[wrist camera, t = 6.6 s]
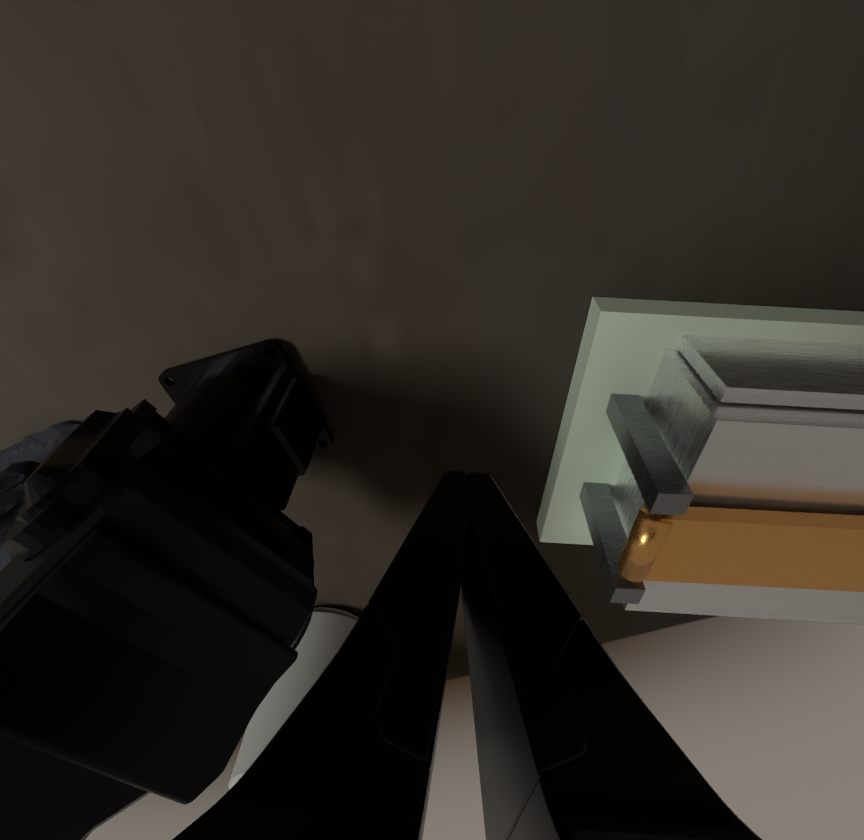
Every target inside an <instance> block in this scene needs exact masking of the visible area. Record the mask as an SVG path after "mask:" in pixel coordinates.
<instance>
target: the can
mask: <svg viewBox="0 0 864 840" xmlns="http://www.w3.org/2000/svg"><path fill="white" fill-rule="evenodd" d="M357 620H358V617H357V616H355V615H353V614H351V613H349V612H346V611H343V610H339V609H335V608H326V607H317V608H314V610H313V613H312V617H311V621H310V623H309V625H308V628H307V630H306V632H305V634H304V636H303V638H302V639H301V641H300V643H299V645H298V646H297V648H296V649H295V650H296V651H297V652H298V657H297V659H296V661H295V662H294V663H293V664H292V665H291V666H290V668H289V669H288V670H287V671H286V672H285V673H284V674H283V675H282V676H281V677H280V678H279V680H278V681H277V682H276V683H275V684H274V685H273V687H272V688H271V690H270V691H269V692H268V694H267V695H266V697H265V698H264V700H263V701H262V702H261V704H260V705H259V707H258V708H257V710H256V711H255V713H254V715H253V717H252V718H251V720H250V722H249V724H248V725H247V729H246V732H245V735H244V738H243V741H242V744H241V747H240V751H239V754H238V757H237V760H236V764H235V767H234V770H233V773H232V776H231V779H230V782H229V786H228V787H229V789H231V788H232V787H233V786H234V785H235V784H236V783H237V781H238V780H239V779H240V778H241V777H242V776H243V775H244V773H245V772H246V771H247V770H248V769H249V768H250V766H251V765H252V764H253V763H254V761H255V760H256V759H257V758H258V756H259V755H260V754H261V753H262V751H263V750H264V749H265V747H266V746H267V745H268V743H269V742H270V741H271V740H272V738H273V737H274V736H275V734H276V733H277V732H278V730H279V729H280V728H281V726H282V725H283V724H284V723H285V721H286V720H287V719H288V717H289V716H290V715H291V713H292V712H293V711H294V710H295V708H296V707H297V706H298V704H299V703H300V702H301V700H302V699H303V698H304V697H305V695H306V694H307V693H308V691H309V690H310V689H311V687H312V686H313V685H314V684H315V682H316V681H317V680H318V678H319V677H320V675H321V674H322V673H323V671H324V670H325V668H326V667H327V666H328V664H329V663H330V662H331V660H332V659H333V657H334V656H335V655H336V653H337V652H338V650H339V649H340V647H341V646H342V644H343V643H344V641H345V639H346V638H347V636H348V635H349V633H350V631H351V630H352V628H353V627H354V625H355V624H356V622H357Z"/></svg>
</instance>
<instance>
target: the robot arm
mask: <svg viewBox="0 0 864 840" xmlns="http://www.w3.org/2000/svg"><path fill="white" fill-rule="evenodd" d="M268 348H272V349H274V350H275V351H276V354H273V353H270V352H269V350H268ZM168 377H169V378H172V379H173V380H174V382H173V381H171V380H170V379H169V378H168ZM159 382H160V384H161V385H162V387H163V388H164V389H165V391H166V392H167V393H168V394H169V396H170V397H171V398H172V400H173V401H174V402H175V404H176V405H175V406H174V407H173V409H172V410H171V411H170V412H169V413H168V415H167V416H166V417H165V418H163V417H162V416H160V415H159V414H158V413H157V412H155V411H156V410H157V409H156V408H155V407H154V406H153V405H151V404H150V403H149V402H148V401H146V400H145V399H144V400H142V401H141V402H140V403H139V404H137V405H136V406H135V407H134V408H132V409H131V410H130V409H128V408H126V409H124V410H123V411H121V412H118V413H112V412H105V411H99V410H96V411H95V412H93V413H92V414H91V415H90V416H89V417H87V418H86V419H85V420H84V421H83V422H82V423H81V424H80V425H79V426H78V427H77V428H76V429H75V430H74V431H73V432H71V433H70V434H69V435H68V436H67V437H66V438H65V439H64V440H63V441H62V442H61V443H60V444H59V445H58V446H57V447H56V448H55V449H54V450H53V451H52V452H51V453H50V454H49V455H48V456H47V457H46V458H45V459H44V461H43V462H42V463H41V464H40V465H39V466H38V467H37V468H36V469H35V471H34V472H33V473H32V474H31V475H30V476H29V477H28V478H27V479H26V480H25V482H24V490H25V505H24V506H23V507H22V508H21V510H20V511H19V513H18V515H17V517H16V520H15V522H14V524H13V525H12V527H11V528H10V530H9V531H8V533H7V535H6V536H5V538H4V539H3V541H2V543H1V544H2V545H4V546H6V547H7V548H9V549H11V550H13V551H15V552H16V553H18V554H17V555H16V556H15V557H14V558H13V559H12V560H11V561H10V562H9V563H8V564H7V565H6V566H5V567H4V568H3V569H2V570H1V571H0V840H85V839H86V838H87V837H88V835H89V834H90V833H91V832H92V831H93V830H94V829H96V828H97V827H99V826H100V825H102V824H103V823H105V822H106V821H108V820H109V819H111V818H112V817H114V816H115V815H117V814H118V813H120V812H122V811H123V810H125V809H126V808H128V807H129V806H131V805H132V804H134V803H135V802H137V801H138V800H140V799H141V798H143V797H144V796H146V795H147V794H149V793H150V792H151V793H154V794H156V795H159V796H162V797H165V798H167V799H170V800H173V801H175V802H178V803H181V804H188V803H190V802H192V801H193V800H194V799H196V798H197V796H198V795H200V794H201V793H202V792H203V791H204V790H205V789H206V788H207V787H208V786H209V785H210V784H211V783H212V782H213V781H214V780H215V779H216V778H217V777H218V776H219V775H220V774H221V773H222V772H223V770H224V769H225V767H226V765H227V763H228V761H229V759H230V758H231V756H232V754H233V752H234V750H235V748H236V746H237V744H238V742H239V740H240V738H241V737H242V735H243V733H244V731H245V729H246V727H247V725H248V724H249V722H250V720H251V718H252V717H253V715H254V713H255V711H256V710H257V708H258V707H259V705H260V704H261V702H262V701H263V700H264V698H265V697H266V695H267V694H268V692H269V691H270V690H271V688H272V687H273V685H274V684H275V683H276V682H277V681H278V680H279V678H280V677H281V676H282V675H283V674H284V673H285V672H286V671H287V670H288V669H289V668H290V666H291V665H292V664H293V663H294V662H295V661H296V659H297V657H298V652H297V651H296V650H295V649H296V648H297V646H298V645H299V643H300V641H301V639H302V638H303V636H304V634H305V632H306V630H307V628H308V625H309V623H310V621H311V617H312V613H313V610H314V604H315V601H316V599H317V589H316V587H314V572H313V569H314V558H313V543H312V533H311V532H310V531H308V530H307V529H306V528H305V527H303V526H301V527H300V526H298V525H297V524H296V523H295V522H293V521H292V520H291V519H289V518H288V517H287V516H286V515H284V514H283V513H282V512H281V510H284V509H285V508H286V506H287V503H288V501H289V498H290V495H291V493H292V490H293V488H294V485H295V483H296V480H297V478H298V476H301V475H304V474H305V472H306V470H307V468H308V465H309V462H310V460H311V457H312V454H314V453H318V452H323V451H327V450H329V449H330V448H331V447H332V444H333V441H334V439H333V436H332V434H331V432H330V430H329V429H328V427H327V425H326V423H325V419H326V418H325V416H324V414H323V412H322V410H321V408H320V407H319V405H318V403H317V401H316V399H315V397H314V396H313V394H312V392H311V390H310V388H309V387H308V385H307V383H306V381H305V379H303V378H302V377H300V376H299V374H298V373H297V371H296V369H295V367H294V365H293V364H292V362H291V360H290V358H289V356H288V354H287V353H286V351H285V349H284V347H283V346H282V344H281V343H280V342H278V341H277V340H274V339H268V340H264V341H261V342H257V343H254V344H250V345H247V346H244V347H240V348H237V349H233V350H230V351H227V352H223V353H220V354H216V355H213V356H209V357H206V358H203V359H199V360H196V361H192V362H189V363H186V364H182V365H179V366H175V367H172V368H168V369H166V370H164V371H163V372H162V373H161V374H160V376H159ZM321 440H325V441H326V442H322V441H321ZM460 587H461V588H462V601H463V611H464V621H465V631H466V642H467V652H468V662H469V672H470V682H471V691H472V702H473V712H474V722H475V733H476V743H477V753H478V763H479V773H480V783H481V793H482V803H483V813H484V823H485V833H486V840H762V839H761V838H760V837H758V836H757V835H756V834H755V833H754V832H753V831H752V830H751V829H750V828H748V827H747V826H746V825H745V824H744V823H743V822H742V821H741V820H740V819H739V818H738V817H737V816H736V815H735V814H734V812H733V811H732V810H731V809H730V808H729V807H728V806H727V805H726V804H725V803H724V802H723V801H722V799H721V798H720V797H719V796H718V795H717V793H716V792H715V791H714V790H713V789H712V787H711V786H710V785H709V784H708V782H707V781H706V780H705V779H704V777H703V776H702V775H701V774H700V772H699V771H698V770H697V769H696V768H695V766H694V765H693V764H692V762H691V761H690V760H689V759H688V757H687V756H686V755H685V754H684V752H683V751H682V750H681V749H680V747H679V746H678V745H677V744H676V742H675V741H674V740H673V739H672V737H671V736H670V735H669V734H668V732H667V731H666V730H665V729H664V727H663V726H662V725H661V724H660V722H659V721H658V720H657V719H656V717H655V716H654V715H653V714H652V712H651V711H650V710H649V709H648V707H647V706H646V705H645V704H644V702H643V701H642V700H641V699H640V697H639V696H638V694H637V693H636V692H635V691H634V689H633V688H632V687H631V685H630V684H629V683H628V682H627V680H626V679H625V678H624V676H623V675H622V674H621V672H620V671H619V670H618V668H617V667H616V665H615V664H614V662H613V661H612V660H611V658H610V657H609V655H608V654H607V652H606V651H605V649H604V648H603V647H602V645H601V644H600V642H599V641H598V639H597V638H596V636H595V635H594V633H593V631H592V630H591V628H590V627H589V625H588V624H587V622H586V621H585V620H582V615H581V613H580V612H579V610H578V609H577V607H576V606H575V604H574V602H573V601H572V599H571V598H570V596H569V595H568V593H567V592H566V590H565V589H564V587H563V586H562V584H561V582H560V581H559V579H558V578H557V576H556V575H555V573H554V572H553V570H552V569H551V567H550V566H549V564H548V563H547V561H546V559H545V558H544V556H543V555H542V553H541V552H540V550H539V549H538V547H537V546H536V544H535V543H534V541H533V539H532V538H531V536H530V535H529V533H528V532H527V530H526V529H525V527H524V526H523V524H522V523H521V521H520V519H519V518H518V516H517V515H516V513H515V512H514V510H513V509H512V507H511V506H510V504H509V503H508V501H507V500H506V498H505V496H504V495H503V493H502V492H501V490H500V489H499V487H498V486H497V484H496V483H495V481H494V480H493V478H492V477H491V475H490V474H488V473H479V472H470V473H468V475H467V473H466V472H464V471H449V470H448V471H446V472H445V473H444V474H443V476H442V477H441V479H440V481H439V483H438V484H437V486H436V488H435V489H434V491H433V493H432V494H431V496H430V498H429V500H428V501H427V503H426V505H425V506H424V508H423V510H422V512H421V513H420V515H419V517H418V518H417V520H416V522H415V523H414V525H413V527H412V529H411V530H410V532H409V534H408V535H407V537H406V539H405V541H404V542H403V544H402V546H401V547H400V549H399V551H398V552H397V554H396V556H395V558H394V559H393V561H392V563H391V564H390V566H389V568H388V570H387V571H386V573H385V575H384V576H383V578H382V580H381V581H380V583H379V585H378V587H377V588H376V590H375V592H374V593H373V595H372V597H371V598H370V600H369V605H366V607H365V608H364V610H363V612H362V613H361V615H360V617H359V618H358V620H357V622H356V624H355V625H354V627H353V628H352V630H351V631H350V633H349V635H348V636H347V638H346V639H345V641H344V643H343V644H342V646H341V647H340V649H339V650H338V652H337V653H336V655H335V656H334V657H333V659H332V660H331V662H330V663H329V664H328V666H327V667H326V668H325V670H324V671H323V673H322V674H321V675H320V677H319V678H318V680H317V681H316V682H315V684H314V685H313V686H312V687H311V689H310V690H309V691H308V693H307V694H306V695H305V697H304V698H303V699H302V700H301V702H300V703H299V704H298V706H297V707H296V708H295V710H294V711H293V712H292V713H291V715H290V716H289V717H288V719H287V720H286V721H285V723H284V724H283V725H282V726H281V728H280V729H279V730H278V732H277V733H276V734H275V736H274V737H273V738H272V740H271V741H270V742H269V743H268V745H267V746H266V747H265V749H264V750H263V751H262V753H261V754H260V755H259V756H258V758H257V759H256V760H255V761H254V763H253V764H252V765H251V766H250V768H249V769H248V770H247V771H246V772H245V773H244V775H243V776H242V777H241V778H240V779H239V780H238V781H237V783H236V784H235V785H234V786H233V787H232V788H231V789H230V790H229V791H228V792H227V793H226V794H225V795H224V796H223V797H222V798H221V799H220V800H219V801H218V802H217V803H216V804H215V805H213V806H212V807H211V808H210V809H209V810H208V811H207V812H205V813H204V814H203V815H202V816H200V817H199V818H198V819H197V820H196V821H194V822H193V823H192V824H191V825H190V826H188V827H187V828H186V829H185V830H183V831H182V832H181V833H180V834H179V835H178V836H176V837H175V838H174V839H172V840H422V836H423V829H424V823H425V817H426V810H427V804H428V797H429V791H430V784H431V777H432V771H433V765H434V758H435V751H436V745H437V738H438V731H439V725H440V719H441V712H442V706H443V699H444V692H445V686H446V680H447V673H448V666H449V660H450V653H451V647H452V640H453V634H454V627H455V621H456V614H457V608H458V601H459V594H460Z"/></svg>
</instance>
